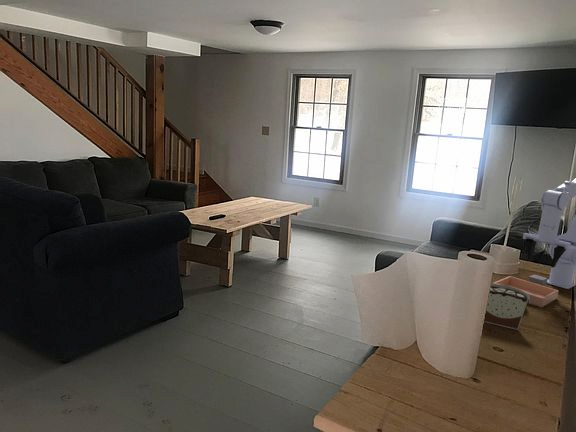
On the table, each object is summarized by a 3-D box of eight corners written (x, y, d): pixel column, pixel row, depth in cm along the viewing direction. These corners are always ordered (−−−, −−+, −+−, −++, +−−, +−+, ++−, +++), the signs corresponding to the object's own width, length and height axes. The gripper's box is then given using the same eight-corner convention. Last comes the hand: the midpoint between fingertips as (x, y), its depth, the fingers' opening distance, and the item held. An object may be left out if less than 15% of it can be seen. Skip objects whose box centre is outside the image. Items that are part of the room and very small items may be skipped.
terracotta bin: (508, 283, 168) (509, 276, 167) (556, 298, 157) (558, 290, 156) (491, 291, 158) (492, 282, 158) (541, 307, 147) (543, 298, 147)
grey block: (531, 286, 168) (534, 274, 167) (544, 290, 165) (547, 278, 164) (526, 288, 165) (529, 276, 164) (540, 292, 162) (542, 280, 161)
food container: (523, 323, 133) (530, 290, 131) (524, 331, 128) (531, 296, 126) (477, 312, 138) (483, 280, 136) (475, 319, 133) (482, 286, 131)
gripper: (522, 221, 163) (515, 259, 166) (568, 231, 153) (560, 271, 155) (530, 220, 168) (523, 256, 170) (575, 229, 157) (567, 268, 160)
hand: (541, 263), depth 163 cm, fingers open, 7 cm apart
